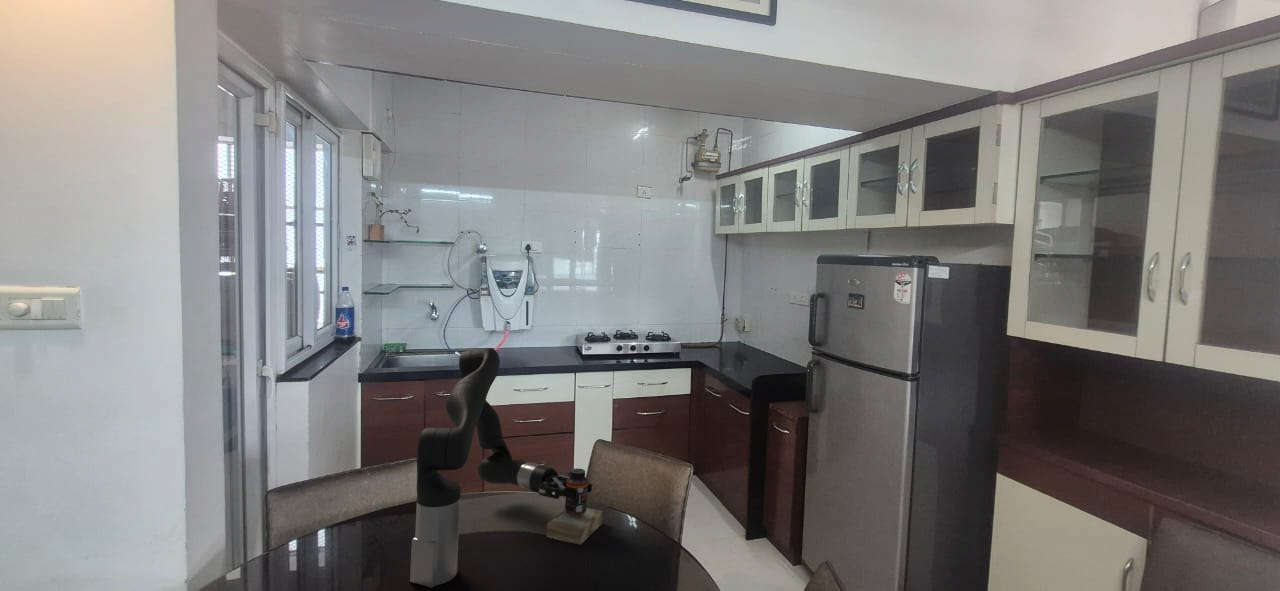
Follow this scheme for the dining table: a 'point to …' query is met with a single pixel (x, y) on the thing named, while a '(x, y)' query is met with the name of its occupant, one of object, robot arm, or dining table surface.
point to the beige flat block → (574, 526)
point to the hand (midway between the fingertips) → (584, 491)
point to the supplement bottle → (580, 485)
